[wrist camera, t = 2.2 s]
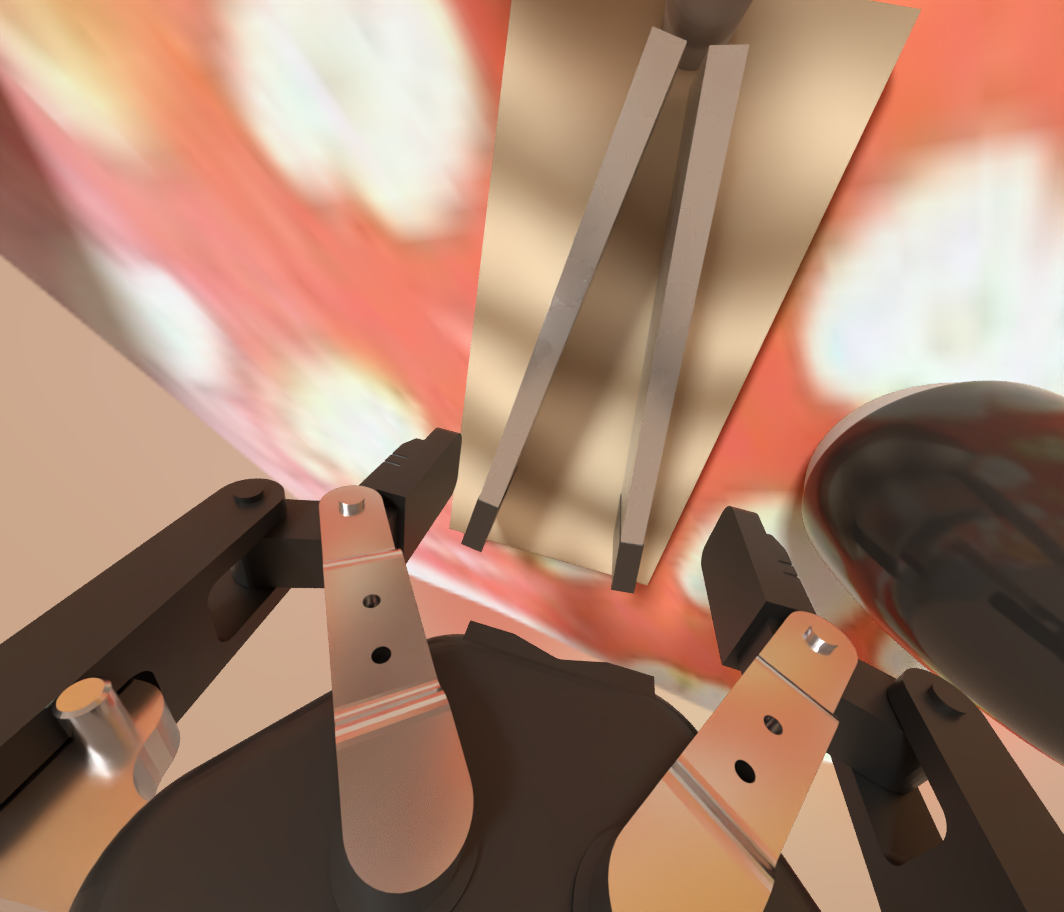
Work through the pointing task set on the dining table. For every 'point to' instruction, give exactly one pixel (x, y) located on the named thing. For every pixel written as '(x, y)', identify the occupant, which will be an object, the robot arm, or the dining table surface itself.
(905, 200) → the dining table surface
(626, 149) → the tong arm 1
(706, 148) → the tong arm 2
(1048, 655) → the pump dispenser
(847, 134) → the tong board
